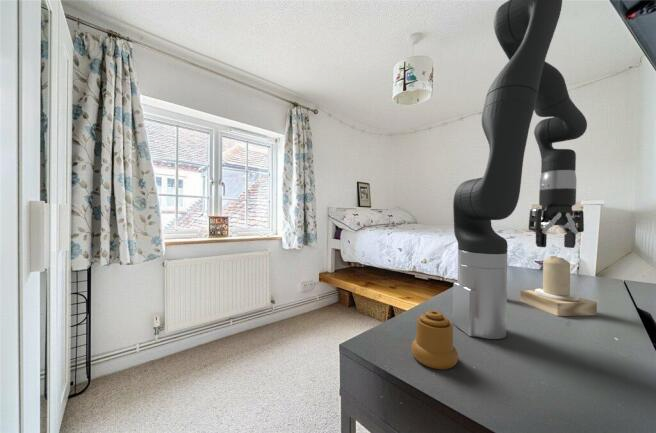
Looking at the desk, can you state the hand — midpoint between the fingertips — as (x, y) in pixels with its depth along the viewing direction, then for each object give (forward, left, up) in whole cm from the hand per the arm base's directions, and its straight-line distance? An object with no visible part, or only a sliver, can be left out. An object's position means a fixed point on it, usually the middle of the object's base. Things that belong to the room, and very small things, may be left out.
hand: (555, 247), depth 70 cm
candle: (0, 0, -13) cm, 13 cm away
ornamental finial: (-46, -22, -17) cm, 54 cm away
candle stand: (0, 0, -17) cm, 17 cm away
